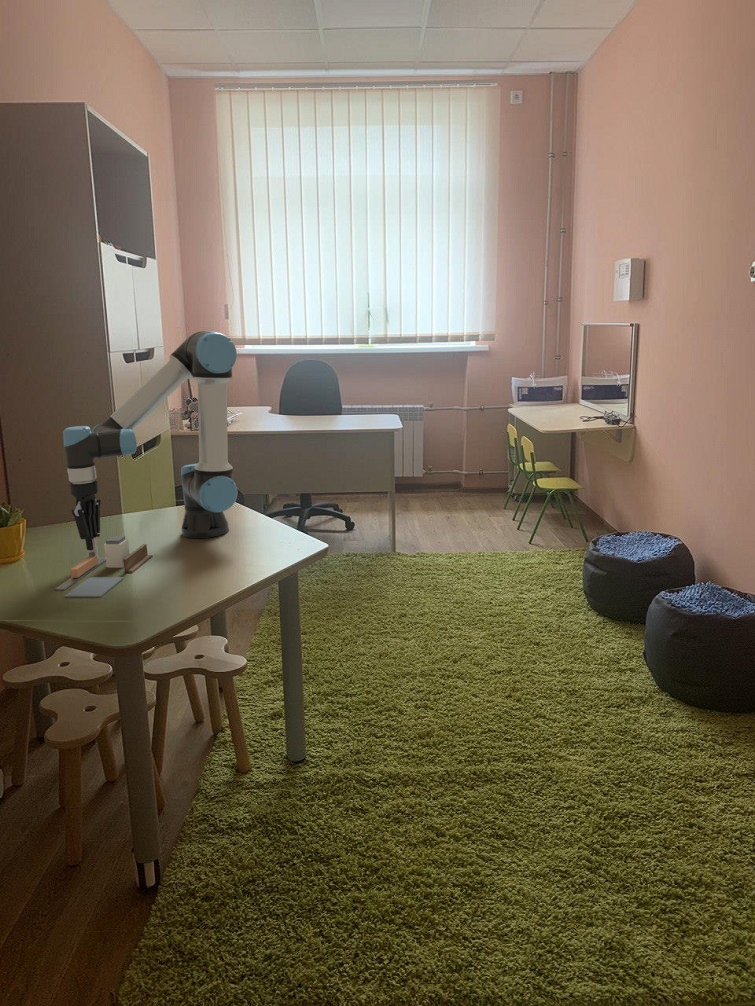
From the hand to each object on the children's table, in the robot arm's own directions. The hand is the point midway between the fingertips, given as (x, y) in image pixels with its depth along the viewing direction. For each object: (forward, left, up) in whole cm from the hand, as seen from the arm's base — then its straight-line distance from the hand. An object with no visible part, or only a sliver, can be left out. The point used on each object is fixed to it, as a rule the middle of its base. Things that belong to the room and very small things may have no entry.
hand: (93, 559), depth 233 cm
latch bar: (-1, +7, -2) cm, 7 cm away
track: (-1, +7, -2) cm, 7 cm away
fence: (-13, 0, -2) cm, 13 cm away
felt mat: (-10, +19, -2) cm, 21 cm away
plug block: (-8, 0, -2) cm, 8 cm away
